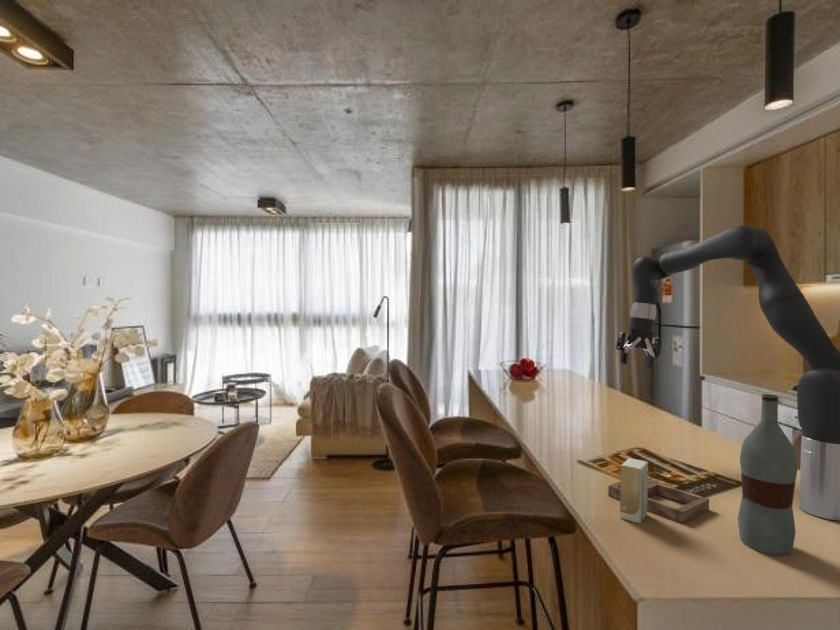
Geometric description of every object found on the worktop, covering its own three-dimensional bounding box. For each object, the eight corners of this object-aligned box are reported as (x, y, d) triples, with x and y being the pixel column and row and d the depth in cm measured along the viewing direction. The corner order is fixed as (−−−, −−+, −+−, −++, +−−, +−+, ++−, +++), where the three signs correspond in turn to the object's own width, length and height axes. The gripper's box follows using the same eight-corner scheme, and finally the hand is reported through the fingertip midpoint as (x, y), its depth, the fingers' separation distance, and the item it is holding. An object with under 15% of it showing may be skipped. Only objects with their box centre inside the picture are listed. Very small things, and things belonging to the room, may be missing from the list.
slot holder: (708, 509, 112) (709, 498, 112) (682, 523, 104) (682, 512, 104) (635, 484, 126) (635, 475, 126) (608, 495, 119) (608, 485, 119)
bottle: (796, 544, 96) (801, 395, 95) (792, 562, 89) (798, 402, 88) (740, 529, 102) (745, 389, 101) (733, 545, 95) (737, 395, 94)
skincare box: (627, 509, 111) (628, 457, 111) (647, 514, 109) (648, 461, 108) (618, 518, 106) (620, 464, 106) (639, 524, 104) (641, 468, 103)
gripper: (628, 314, 154) (621, 364, 154) (669, 320, 156) (662, 370, 156) (616, 314, 161) (609, 361, 161) (655, 320, 163) (648, 367, 163)
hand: (635, 366), depth 159 cm, fingers open, 8 cm apart
